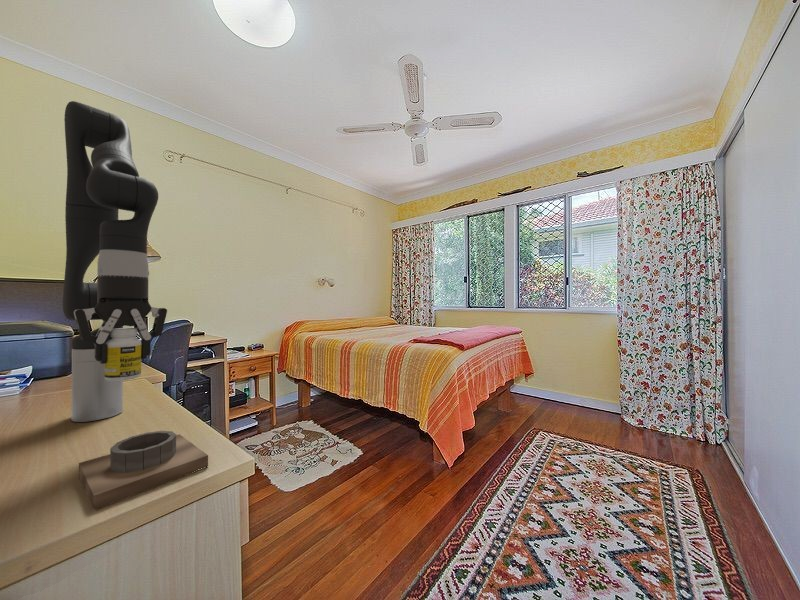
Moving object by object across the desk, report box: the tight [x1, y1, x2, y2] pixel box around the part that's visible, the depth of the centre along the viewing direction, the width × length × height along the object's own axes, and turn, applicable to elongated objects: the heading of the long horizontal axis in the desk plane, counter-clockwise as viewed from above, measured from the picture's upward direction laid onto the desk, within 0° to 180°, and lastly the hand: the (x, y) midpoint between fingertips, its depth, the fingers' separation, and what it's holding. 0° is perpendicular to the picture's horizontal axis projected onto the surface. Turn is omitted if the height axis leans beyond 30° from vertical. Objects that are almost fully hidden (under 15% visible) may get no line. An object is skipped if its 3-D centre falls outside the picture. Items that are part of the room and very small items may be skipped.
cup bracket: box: [78, 430, 209, 511], centre depth 52 cm, size 14×14×5 cm
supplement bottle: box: [105, 327, 142, 382], centre depth 61 cm, size 5×5×10 cm
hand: (123, 360), depth 61 cm, fingers closed on supplement bottle, 5 cm apart
